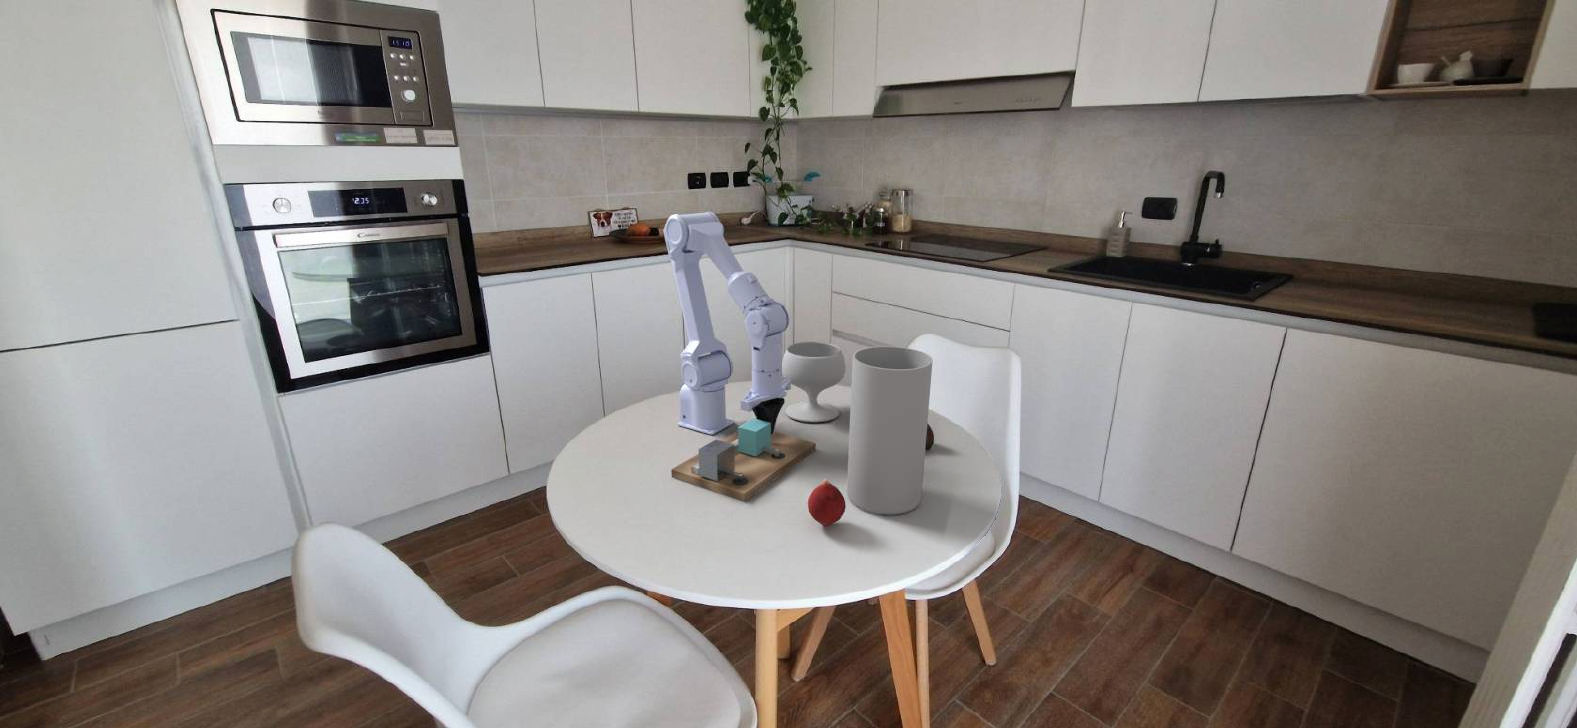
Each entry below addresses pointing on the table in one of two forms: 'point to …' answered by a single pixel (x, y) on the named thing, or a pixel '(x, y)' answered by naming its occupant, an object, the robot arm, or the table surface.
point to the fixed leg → (718, 461)
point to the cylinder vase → (888, 428)
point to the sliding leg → (755, 438)
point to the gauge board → (749, 467)
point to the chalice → (813, 378)
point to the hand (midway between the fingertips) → (766, 433)
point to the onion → (826, 504)
